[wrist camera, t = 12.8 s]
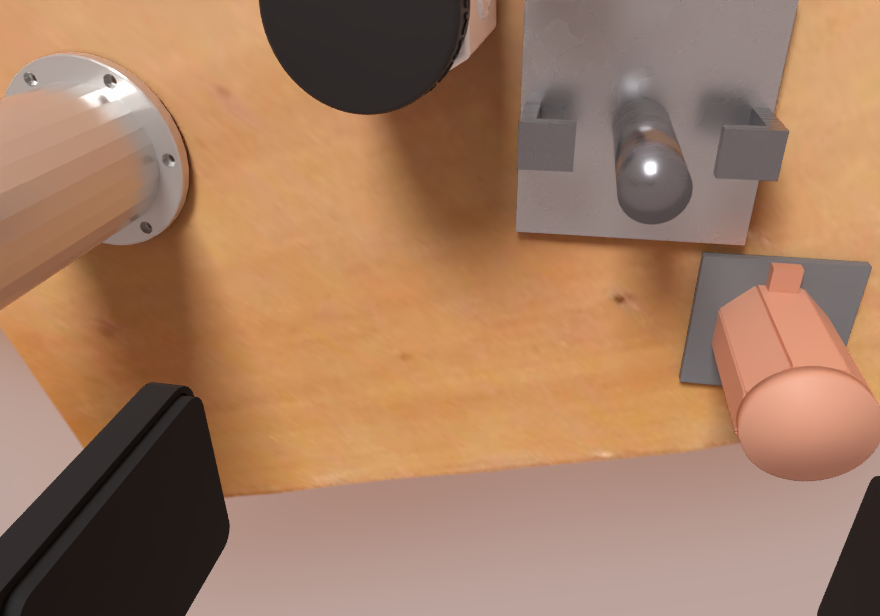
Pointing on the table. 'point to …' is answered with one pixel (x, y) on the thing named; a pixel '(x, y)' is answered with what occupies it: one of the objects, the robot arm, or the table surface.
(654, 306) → the table surface
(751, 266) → the coaster
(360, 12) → the jar
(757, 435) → the salmon domed faceted piece
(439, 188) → the table surface
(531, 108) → the pegged base plate
